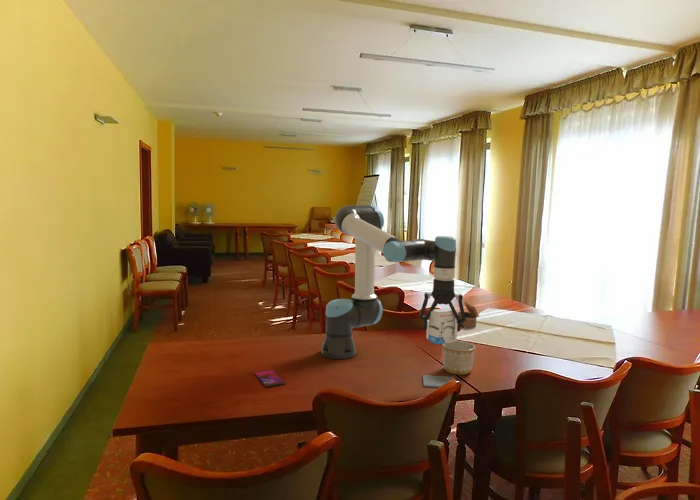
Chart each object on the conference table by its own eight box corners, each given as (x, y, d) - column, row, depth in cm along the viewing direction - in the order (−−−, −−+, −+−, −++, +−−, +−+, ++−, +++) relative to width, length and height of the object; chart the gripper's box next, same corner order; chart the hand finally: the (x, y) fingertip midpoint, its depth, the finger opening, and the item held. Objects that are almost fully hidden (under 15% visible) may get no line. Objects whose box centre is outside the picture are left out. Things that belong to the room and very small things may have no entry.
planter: (439, 364, 192) (440, 339, 191) (469, 365, 192) (470, 340, 191) (444, 376, 180) (445, 349, 179) (477, 377, 179) (478, 350, 178)
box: (434, 318, 269) (435, 298, 268) (480, 317, 272) (481, 298, 271) (450, 331, 242) (451, 309, 240) (501, 331, 245) (502, 309, 244)
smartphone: (273, 369, 181) (286, 383, 168) (273, 372, 181) (286, 385, 168) (253, 372, 178) (265, 386, 165) (253, 375, 178) (265, 389, 165)
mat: (423, 386, 169) (423, 385, 169) (422, 376, 179) (422, 374, 179) (457, 389, 167) (457, 387, 167) (454, 378, 177) (454, 377, 177)
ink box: (436, 345, 167) (437, 313, 166) (427, 341, 171) (429, 310, 170) (454, 342, 171) (456, 310, 170) (446, 338, 175) (447, 307, 174)
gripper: (413, 279, 166) (411, 339, 169) (476, 282, 164) (473, 343, 166) (413, 275, 174) (411, 334, 176) (473, 278, 171) (470, 337, 174)
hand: (441, 338), depth 171 cm, fingers closed on ink box, 9 cm apart
